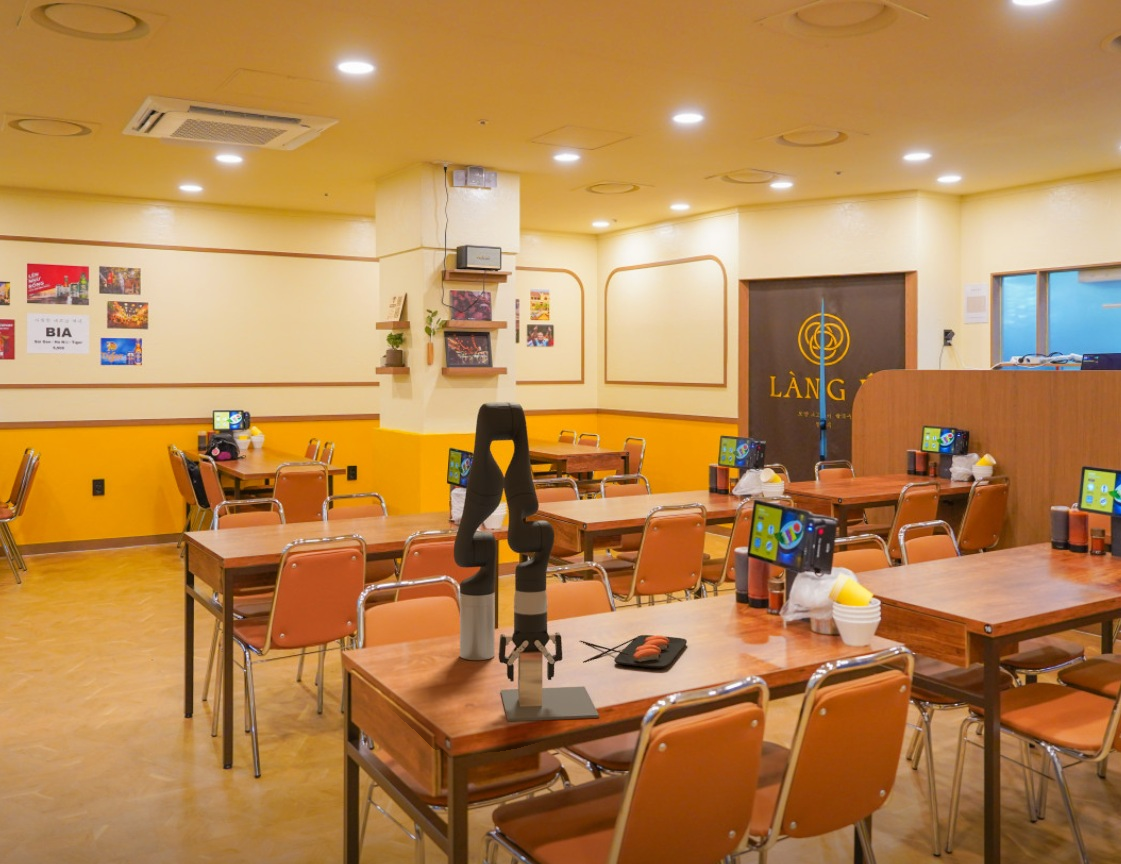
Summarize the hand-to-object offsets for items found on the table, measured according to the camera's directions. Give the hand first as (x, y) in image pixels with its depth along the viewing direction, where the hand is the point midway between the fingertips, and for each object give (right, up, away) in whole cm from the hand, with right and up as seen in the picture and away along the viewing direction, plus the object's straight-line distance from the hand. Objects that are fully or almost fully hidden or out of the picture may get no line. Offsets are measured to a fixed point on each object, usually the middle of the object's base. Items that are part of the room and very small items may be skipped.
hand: (530, 679), depth 221 cm
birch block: (0, -5, 0) cm, 5 cm away
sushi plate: (+24, -4, +44) cm, 50 cm away
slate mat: (+4, -6, +1) cm, 7 cm away
